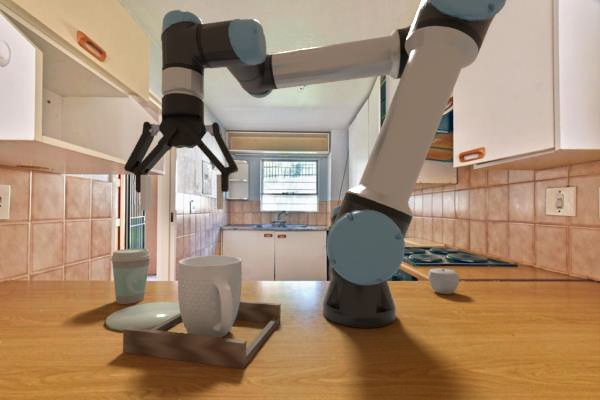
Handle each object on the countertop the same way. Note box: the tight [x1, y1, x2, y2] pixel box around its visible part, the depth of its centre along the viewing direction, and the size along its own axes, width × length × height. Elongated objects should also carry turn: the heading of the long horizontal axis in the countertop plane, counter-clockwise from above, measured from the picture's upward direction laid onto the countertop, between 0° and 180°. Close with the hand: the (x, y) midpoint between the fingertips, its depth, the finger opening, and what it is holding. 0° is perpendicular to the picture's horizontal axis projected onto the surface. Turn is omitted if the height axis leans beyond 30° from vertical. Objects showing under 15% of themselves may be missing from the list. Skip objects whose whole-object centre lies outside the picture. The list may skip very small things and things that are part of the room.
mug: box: [177, 254, 243, 338], centre depth 52 cm, size 15×11×13 cm
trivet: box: [105, 301, 180, 332], centre depth 61 cm, size 15×15×1 cm
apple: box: [427, 267, 460, 295], centre depth 81 cm, size 8×8×7 cm
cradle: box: [122, 299, 282, 370], centre depth 52 cm, size 20×18×4 cm
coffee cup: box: [110, 248, 152, 305], centre depth 72 cm, size 8×8×12 cm
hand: (183, 210), depth 56 cm, fingers open, 13 cm apart
